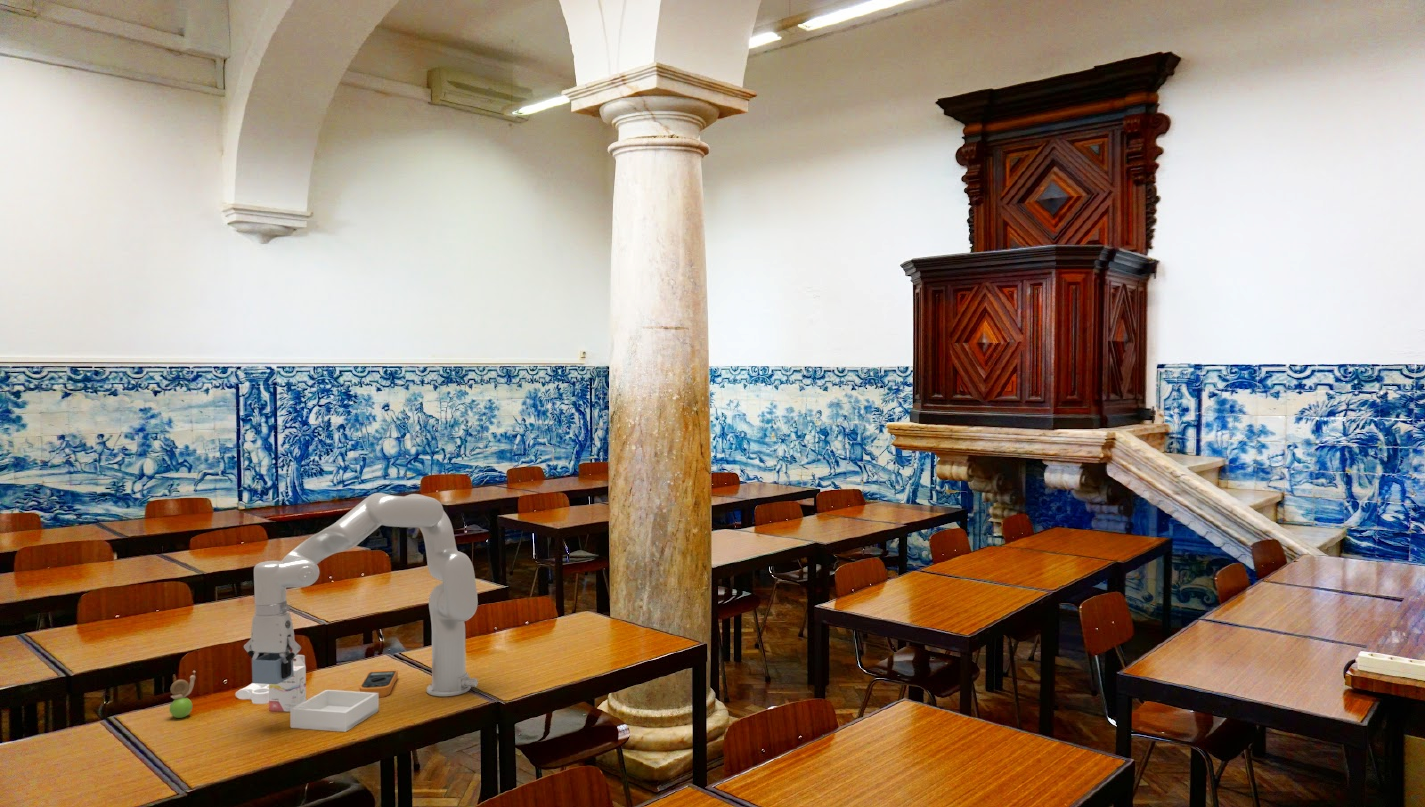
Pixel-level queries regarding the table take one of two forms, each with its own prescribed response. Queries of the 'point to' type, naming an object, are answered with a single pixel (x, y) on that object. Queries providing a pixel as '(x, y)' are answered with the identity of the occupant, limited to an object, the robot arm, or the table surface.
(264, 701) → the white brass knuckles
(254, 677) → the small crate
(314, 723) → the big crate
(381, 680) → the multimeter
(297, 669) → the ink cartridge box
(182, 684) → the snail figurine
